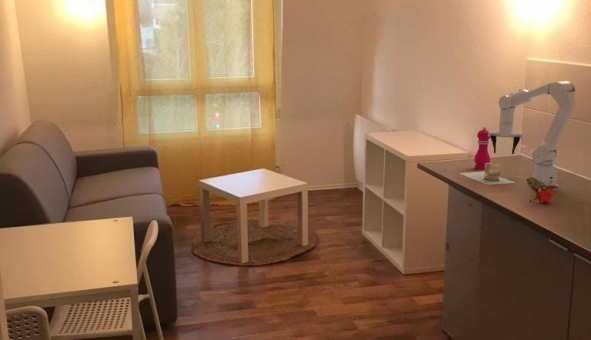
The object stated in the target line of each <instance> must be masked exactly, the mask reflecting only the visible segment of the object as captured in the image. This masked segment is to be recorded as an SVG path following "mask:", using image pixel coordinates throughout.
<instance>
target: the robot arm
mask: <svg viewBox="0 0 591 340" xmlns="http://www.w3.org/2000/svg"><path fill="white" fill-rule="evenodd" d="M576 92H577V89H576V87H575V85H574V84H573V82H572V81H570V80H564V81H554V82H549V83H545V84H542V85H540V86H538V87H535V88H533V89H531V90H528V89H526V88H525V89H523V88H521V89H520V88H519V89H518V91H516V92H511V93H509V94H508V95H502V96H501V97H500V98H499V99H498V106H499V107H500V111H499V112H500V114H499V126H498V131H489V132H488V136H489V137H490V140H491V143H492V147H493V154H497V152H496V151H497V138H512V140H513V142H512V148H511V155H514V154H515V151H516V148H517V146H518V144H519V142H520V141H521V139H523V137H524V134H523V132H513V130H514V116H515V110H516V108H517V107H518V106H521V105H524V104H527V103H530V101H531V100H532V99H533V98H535V97H539V96H542V95H545V94H546V95H550V96H551V98H553V100H554V101H555V102H556V103H557V105H558V109H557V111H556V113H555V116H554V117H553V119H552V122H551V124H550V125H549V126H550V127H549V128H548V130H547V132H546V135H545V137H544V139H543V141H542V142H541V143H539V144H538V146H537V148H536V149H534V150H533V151H532V153H531V154H532V155H531V157H532V161H533V163H534V165H533V175H532V177H534V178H536V179H537V181H538V182H539V180H540V181H541V182H543V183H544V184H545V185H546V187H553V186H555V187H558V186H559V185H558V184H557V182H558V181H557V180H558V169H557V167H556V166H554V161H555V160H556V159H557V155H558V154H557V153H558V149H559V147H558V142H559V140H560V139H561V136H562V134H563V132H564V130H565V128H566V125H567V123H568V122H569V120H570V118H571V115H572V113H573V111H574V108H575V106H576V105H575V104H576V99H575V97H576V96H575V95H576Z"/></svg>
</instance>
